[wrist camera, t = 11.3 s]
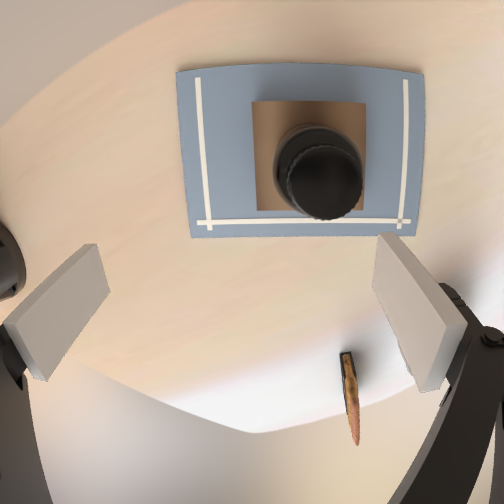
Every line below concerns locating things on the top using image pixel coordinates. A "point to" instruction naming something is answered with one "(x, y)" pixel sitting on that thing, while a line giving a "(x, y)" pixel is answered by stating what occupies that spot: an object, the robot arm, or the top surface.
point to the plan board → (242, 146)
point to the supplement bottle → (318, 171)
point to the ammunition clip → (350, 394)
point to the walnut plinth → (287, 116)
